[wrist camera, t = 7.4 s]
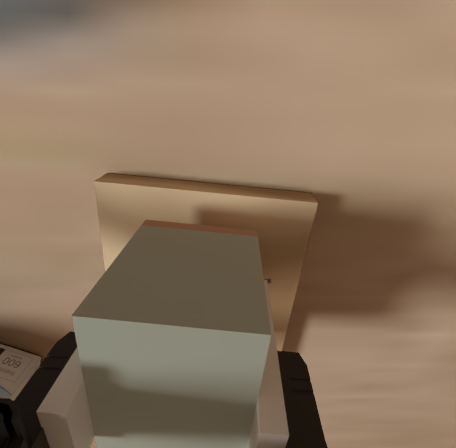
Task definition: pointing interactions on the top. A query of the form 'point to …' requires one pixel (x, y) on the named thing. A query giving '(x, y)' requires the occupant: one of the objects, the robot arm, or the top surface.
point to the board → (215, 224)
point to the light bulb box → (15, 370)
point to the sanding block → (176, 339)
